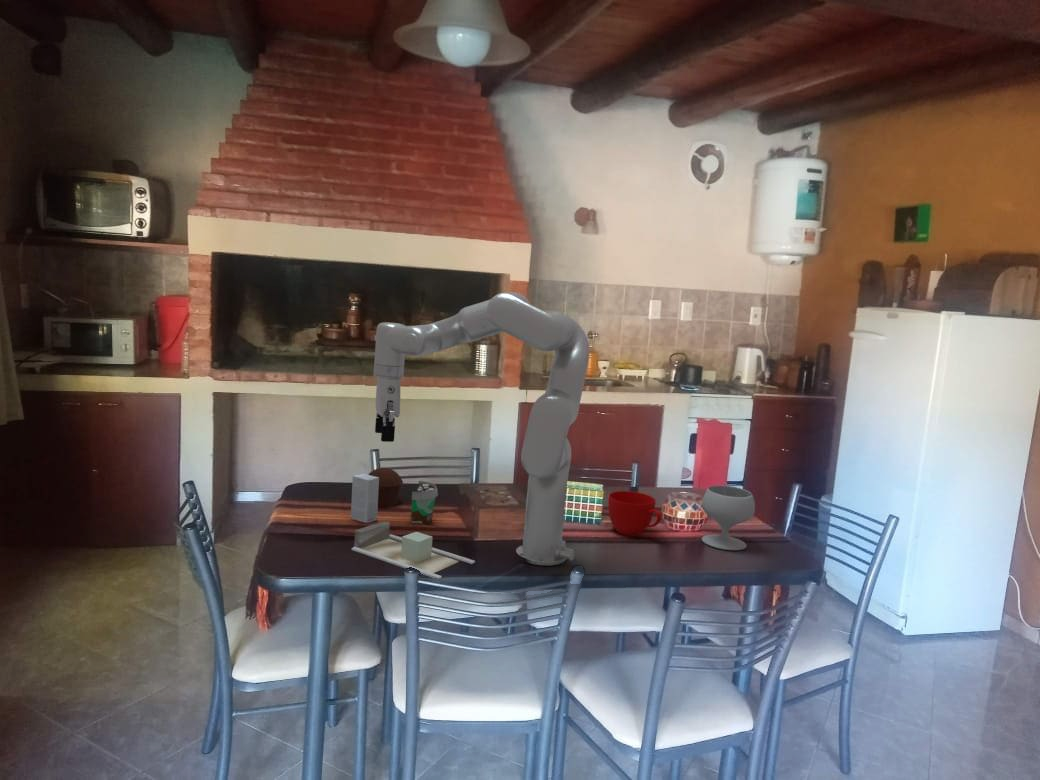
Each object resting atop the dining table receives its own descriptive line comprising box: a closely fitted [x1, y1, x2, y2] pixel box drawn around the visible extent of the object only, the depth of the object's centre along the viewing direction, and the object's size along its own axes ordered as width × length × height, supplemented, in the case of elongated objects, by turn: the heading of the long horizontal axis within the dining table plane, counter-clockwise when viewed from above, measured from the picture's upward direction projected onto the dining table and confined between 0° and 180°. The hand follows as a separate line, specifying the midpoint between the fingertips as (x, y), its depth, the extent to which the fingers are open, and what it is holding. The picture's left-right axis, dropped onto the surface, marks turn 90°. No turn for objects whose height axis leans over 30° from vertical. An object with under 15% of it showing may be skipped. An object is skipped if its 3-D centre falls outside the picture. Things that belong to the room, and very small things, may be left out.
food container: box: [410, 480, 439, 526], centre depth 207 cm, size 12×6×10 cm, turn 179°
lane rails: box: [351, 533, 476, 580], centre depth 180 cm, size 26×14×2 cm, turn 58°
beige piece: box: [353, 520, 461, 574], centre depth 180 cm, size 24×10×5 cm, turn 58°
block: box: [401, 531, 434, 563], centre depth 179 cm, size 5×5×5 cm
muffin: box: [367, 467, 404, 508], centre depth 222 cm, size 12×11×10 cm
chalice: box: [701, 484, 756, 551], centre depth 209 cm, size 14×14×15 cm
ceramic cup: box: [607, 490, 662, 537], centre depth 212 cm, size 13×17×10 cm
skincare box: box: [350, 473, 379, 524], centre depth 206 cm, size 6×4×12 cm
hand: (384, 437), depth 197 cm, fingers open, 9 cm apart
